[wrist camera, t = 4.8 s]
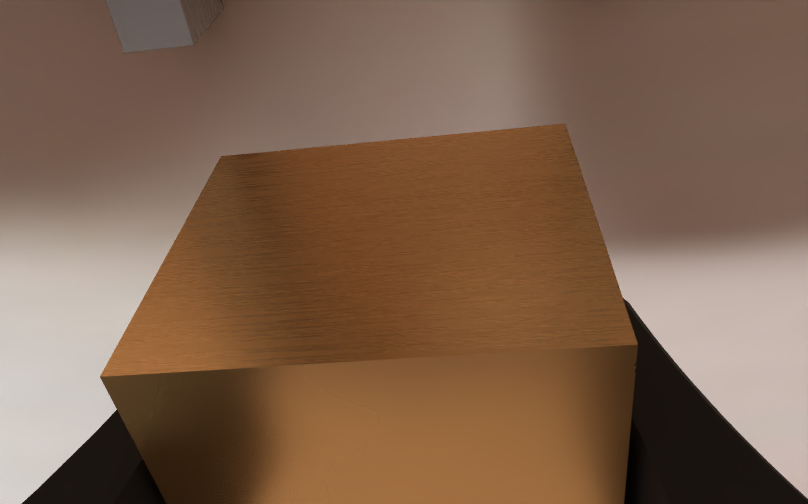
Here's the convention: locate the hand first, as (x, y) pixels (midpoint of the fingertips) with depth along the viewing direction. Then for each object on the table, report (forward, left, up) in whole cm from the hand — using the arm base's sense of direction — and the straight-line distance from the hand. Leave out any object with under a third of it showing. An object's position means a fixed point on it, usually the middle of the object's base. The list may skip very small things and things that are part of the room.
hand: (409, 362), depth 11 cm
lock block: (0, 0, -2) cm, 2 cm away
